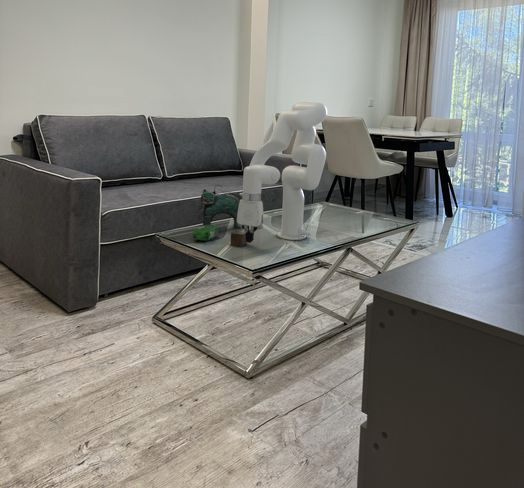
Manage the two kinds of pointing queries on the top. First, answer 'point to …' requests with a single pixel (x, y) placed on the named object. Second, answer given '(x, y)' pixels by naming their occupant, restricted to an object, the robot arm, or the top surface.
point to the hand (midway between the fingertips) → (249, 241)
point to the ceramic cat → (219, 206)
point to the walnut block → (238, 238)
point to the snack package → (205, 232)
